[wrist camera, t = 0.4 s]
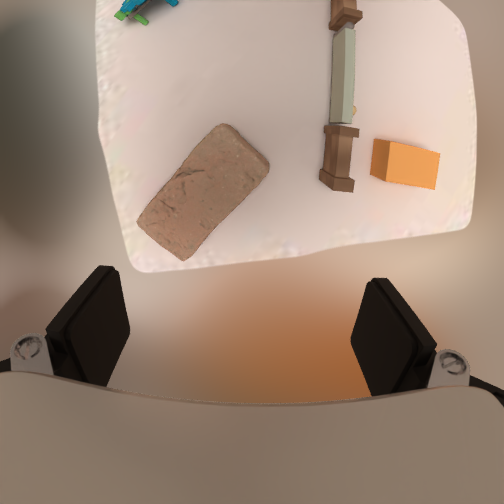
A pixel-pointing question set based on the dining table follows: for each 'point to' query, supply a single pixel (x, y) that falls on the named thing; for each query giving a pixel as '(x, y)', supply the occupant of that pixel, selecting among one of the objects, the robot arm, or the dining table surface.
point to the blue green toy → (136, 9)
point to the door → (343, 75)
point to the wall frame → (339, 136)
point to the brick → (203, 191)
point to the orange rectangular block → (404, 164)
